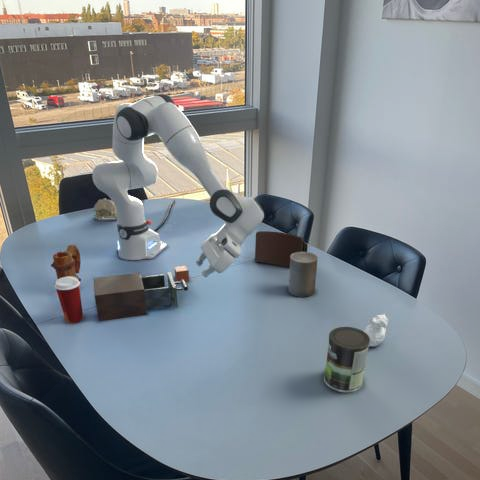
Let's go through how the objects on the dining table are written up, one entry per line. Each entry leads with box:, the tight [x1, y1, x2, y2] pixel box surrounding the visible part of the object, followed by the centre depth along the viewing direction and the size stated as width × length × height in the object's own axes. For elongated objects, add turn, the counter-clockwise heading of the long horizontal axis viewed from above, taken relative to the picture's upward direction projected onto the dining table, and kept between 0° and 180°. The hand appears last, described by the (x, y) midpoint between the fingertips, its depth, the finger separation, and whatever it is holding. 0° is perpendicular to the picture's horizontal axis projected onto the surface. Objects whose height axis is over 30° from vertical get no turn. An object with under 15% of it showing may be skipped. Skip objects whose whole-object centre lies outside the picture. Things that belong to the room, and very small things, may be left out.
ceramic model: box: [93, 197, 118, 221], centre depth 241 cm, size 14×11×10 cm
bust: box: [363, 313, 389, 348], centre depth 139 cm, size 12×8×11 cm
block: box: [174, 265, 190, 283], centre depth 178 cm, size 5×5×5 cm
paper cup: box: [54, 276, 84, 324], centre depth 150 cm, size 8×8×14 cm
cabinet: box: [92, 272, 148, 322], centre depth 157 cm, size 16×14×10 cm
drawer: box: [141, 271, 189, 311], centre depth 160 cm, size 19×12×8 cm, turn 106°
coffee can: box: [323, 326, 370, 394], centre depth 122 cm, size 10×10×14 cm
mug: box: [50, 244, 82, 285], centre depth 170 cm, size 15×8×15 cm, turn 168°
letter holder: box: [254, 230, 309, 268], centre depth 191 cm, size 10×20×14 cm, turn 69°
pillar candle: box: [288, 251, 318, 298], centre depth 167 cm, size 10×10×15 cm
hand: (200, 270), depth 161 cm, fingers open, 8 cm apart
